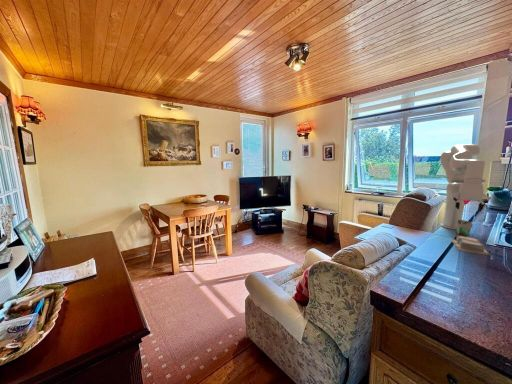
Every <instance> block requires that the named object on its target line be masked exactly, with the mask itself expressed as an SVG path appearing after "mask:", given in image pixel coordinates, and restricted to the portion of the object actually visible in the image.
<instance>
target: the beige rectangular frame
mask: <svg viewBox="0 0 512 384" xmlns="http://www.w3.org/2000/svg"><path fill="white" fill-rule="evenodd" d="M451 240H452V241H451V242H452V243H453V245H454V247H455V249H456V250H457V251H461V252H467V253H472V254H473V253H474V254H478V255H484V256H489V255H490V253H489V252H488V251H487V249H485V245H484V244H483V243H482V241H480V240H479V239H478V238H477V237H471V236H468V237H466V236H459V235H457V236H456V239H455V238H452V239H451Z"/></svg>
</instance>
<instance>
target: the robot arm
mask: <svg viewBox="0 0 512 384" xmlns="http://www.w3.org/2000/svg"><path fill="white" fill-rule="evenodd" d="M480 151H481V148H480V146H479V145H478V144H475V143H468V144H467V143H466V144H465V143H462V144H455V145H454V146H451V149H450V150H447V151H444V152H443V153H442V152H441V155H440V164H441V167H442V168H443V170H444V171H445V176H446V181H447V183H448V184H447V185H446V188H445V189H446V190H445V192H446V198H445V201H446V202H445V208H444V216H443V222H440V224H439V225H440V227H442V228H445V229H448V230H449V229H450V230H454V231H455V230H456V231H457V224H458V219H459V220H463V215H464V209H465V202H464V201H473V202H474V201H475V202H478V207H477V211H478V212H482V210H483V209H484V205H485V204H487V203H489V202H490V201H491V199H492V197H491V196H489V195H487V194H485V193H484V184H483V183H486V179H483V176H484V170H485V164H486V161H485V160H483V159H475V158H477V156H479V154H480ZM484 198H485V199H484ZM483 199H484V200H483Z"/></svg>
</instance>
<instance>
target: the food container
mask: <svg viewBox="0 0 512 384" xmlns="http://www.w3.org/2000/svg"><path fill="white" fill-rule="evenodd" d="M472 223H473V222H471V221H469V220H463V219H462V220H459V219H458V224H457V230H456V233H455V236H456V237H457V235H459V236H466V237H470V236H469V235H470V233H471V229H472V228H473V224H472Z"/></svg>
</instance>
